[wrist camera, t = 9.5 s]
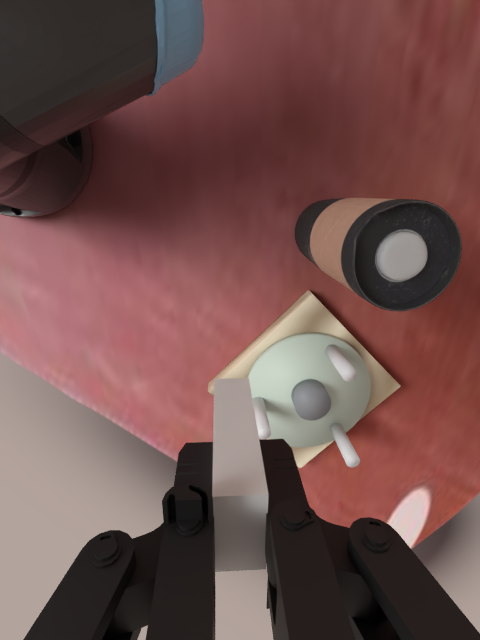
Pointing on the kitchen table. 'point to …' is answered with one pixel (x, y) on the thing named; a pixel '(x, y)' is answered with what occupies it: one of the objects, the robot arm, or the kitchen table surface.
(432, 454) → the kitchen table surface
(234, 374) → the stand base
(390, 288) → the travel mug
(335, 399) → the green peg holder
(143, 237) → the kitchen table surface
